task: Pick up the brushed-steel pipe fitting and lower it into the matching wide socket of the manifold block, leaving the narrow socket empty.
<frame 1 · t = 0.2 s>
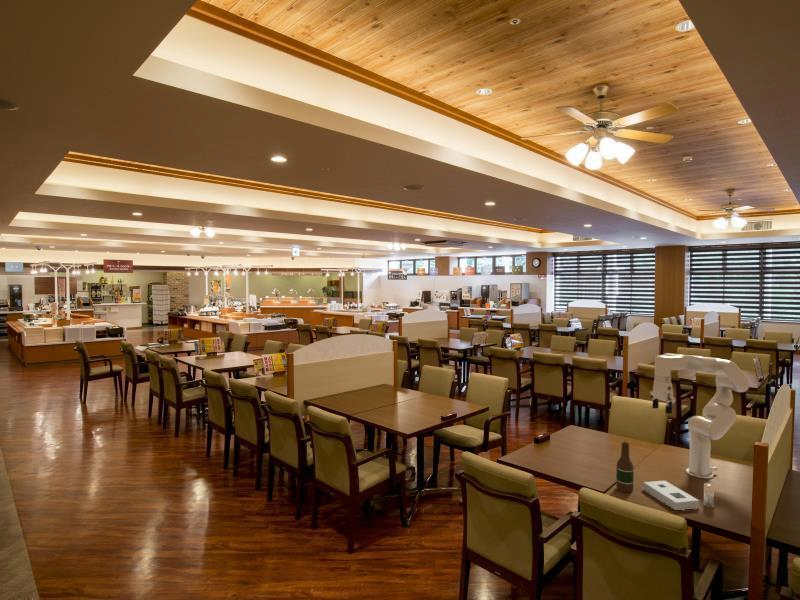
hand: (662, 410, 247), 36 cm above the table, tool pointing down, fingers open, 9 cm apart
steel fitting: (708, 505, 218), on the table
manifold block: (669, 499, 225), on the table
beer bottle: (624, 489, 235), on the table
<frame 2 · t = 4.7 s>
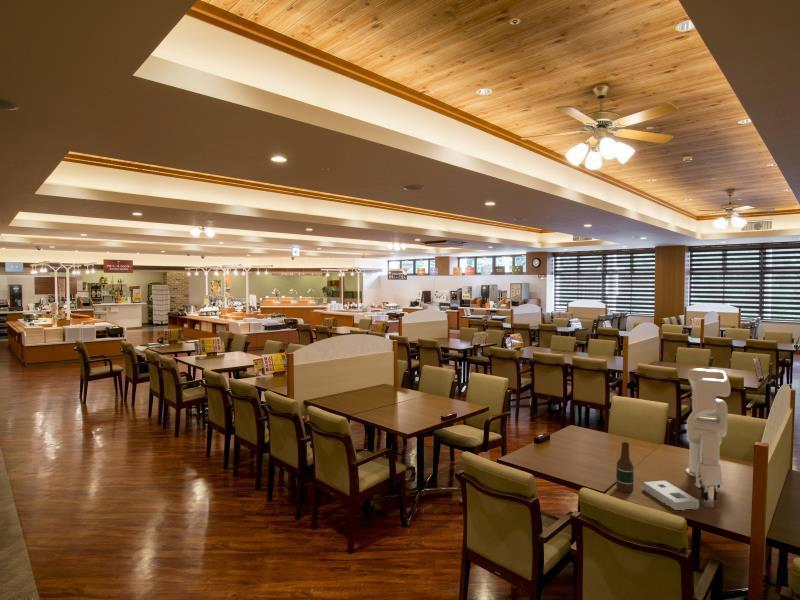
hand: (708, 498, 218), 3 cm above the table, tool pointing down, fingers closed on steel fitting, 4 cm apart
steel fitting: (708, 505, 218), on the table, touching gripper
everything else where it was.
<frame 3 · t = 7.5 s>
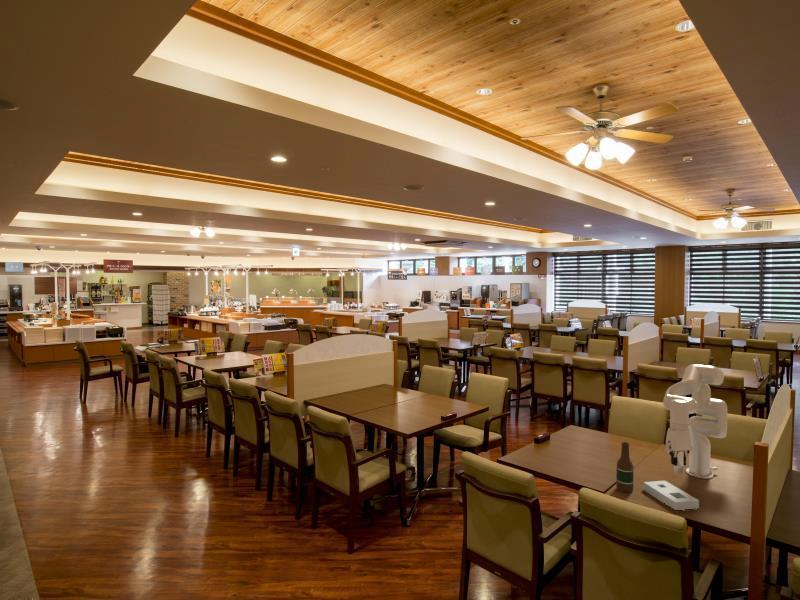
hand: (678, 464, 219), 19 cm above the table, tool pointing down, fingers closed on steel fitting, 4 cm apart
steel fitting: (678, 471, 219), point 16 cm above the table, touching gripper
everything else where it was.
when the fingers open (5 cm above the table, at t = 10.8 s): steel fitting drops 2 cm, resting in manifold block.
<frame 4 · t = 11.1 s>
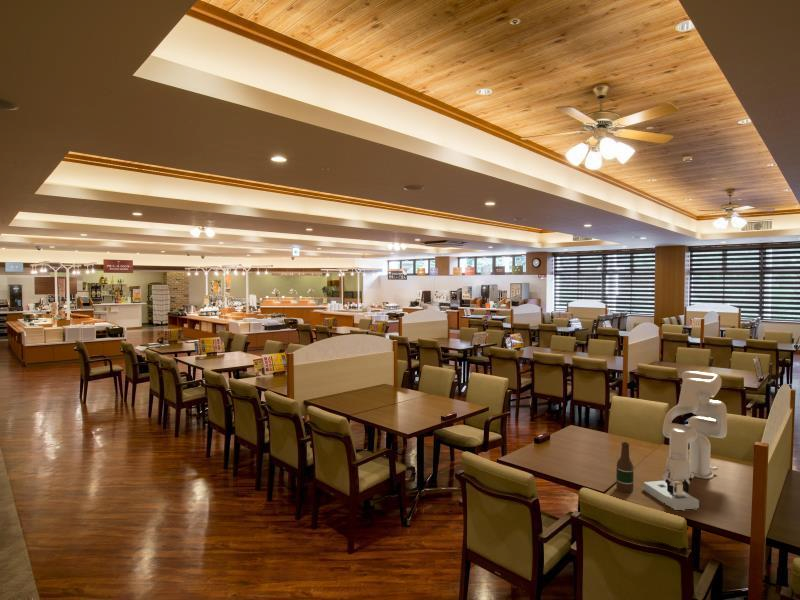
hand: (677, 491, 219), 6 cm above the table, tool pointing down, fingers open, 7 cm apart
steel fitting: (677, 503, 220), resting in manifold block
everything else where it was.
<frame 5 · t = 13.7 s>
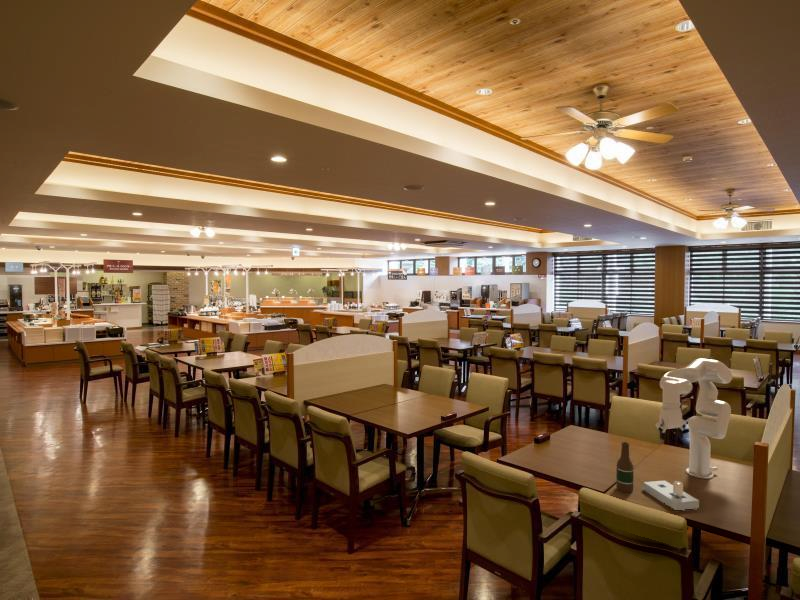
hand: (671, 438, 234), 26 cm above the table, tool pointing down, fingers open, 9 cm apart
nothing on the table moved.
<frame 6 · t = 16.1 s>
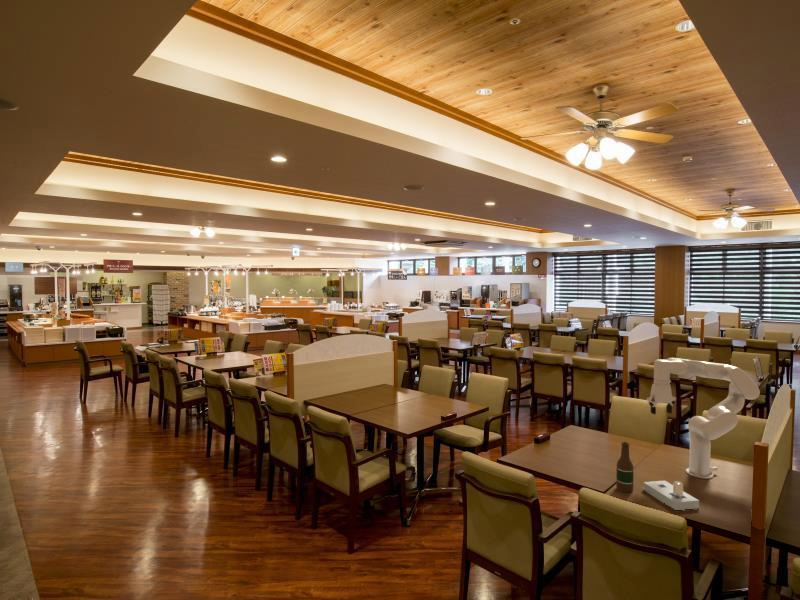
hand: (661, 413, 254), 33 cm above the table, tool pointing down, fingers open, 9 cm apart
nothing on the table moved.
at the end: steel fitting 0.1 cm from the target spot on the manifold block, point 0.0 cm above the manifold block's base; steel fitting tilted 0°; the gripper is holding nothing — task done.
